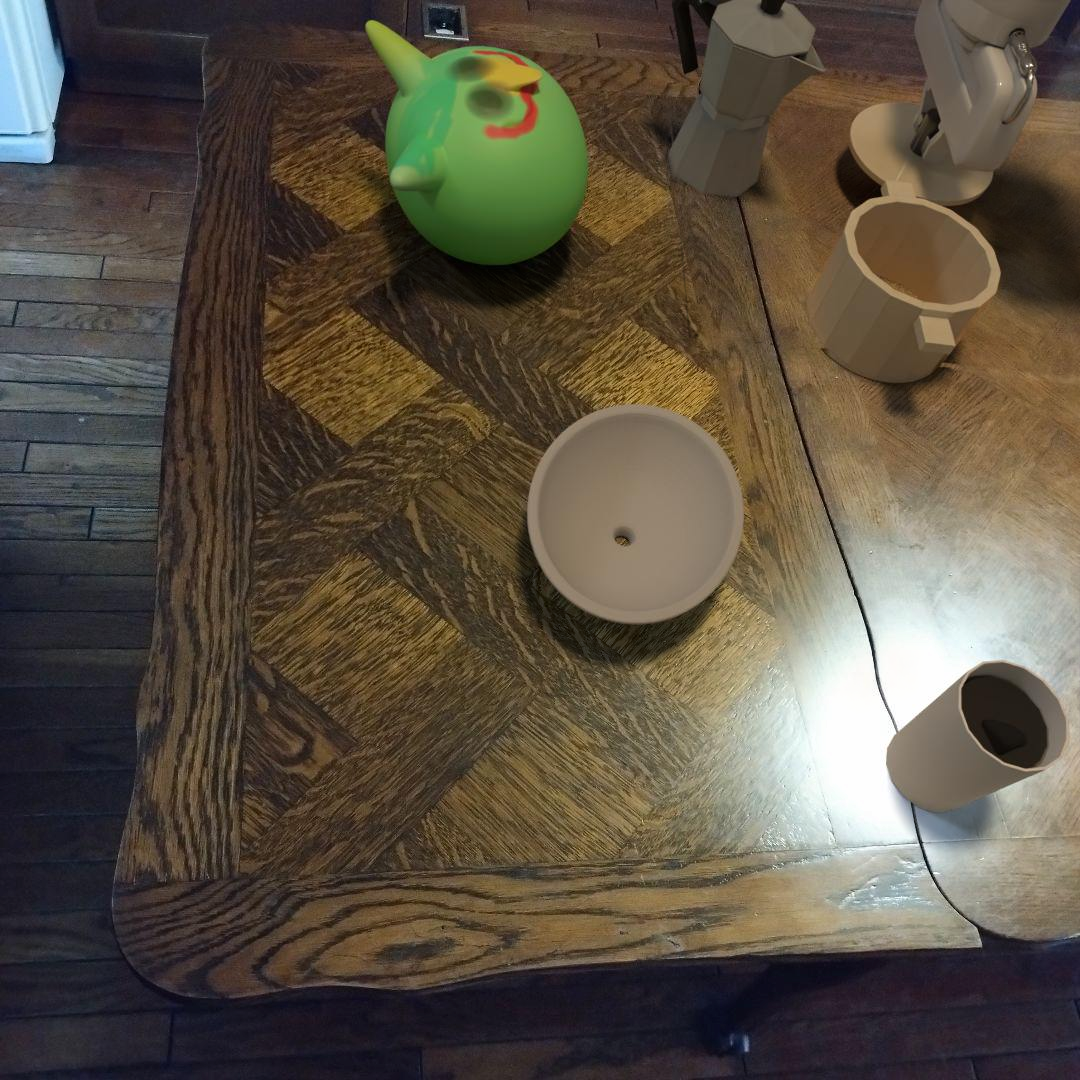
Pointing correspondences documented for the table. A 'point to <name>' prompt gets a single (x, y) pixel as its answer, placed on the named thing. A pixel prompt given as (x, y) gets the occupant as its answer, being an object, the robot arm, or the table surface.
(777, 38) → the coffee maker
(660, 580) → the dish
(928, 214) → the pot
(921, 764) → the grey cup
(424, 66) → the toy bird
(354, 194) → the table surface
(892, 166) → the lid
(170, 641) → the table surface
